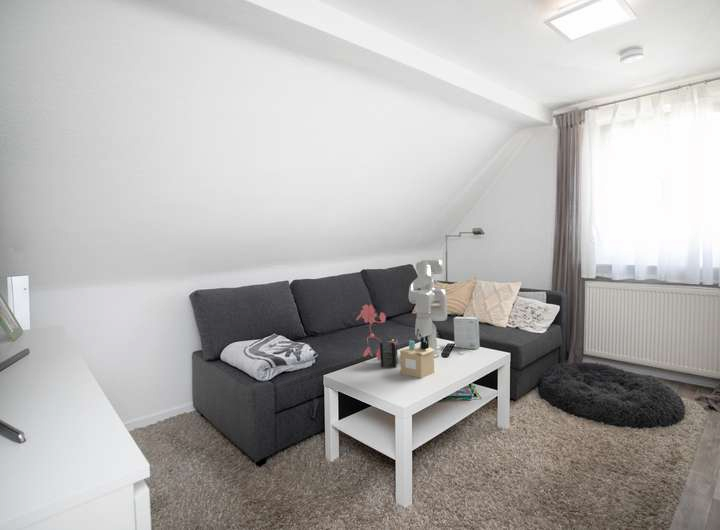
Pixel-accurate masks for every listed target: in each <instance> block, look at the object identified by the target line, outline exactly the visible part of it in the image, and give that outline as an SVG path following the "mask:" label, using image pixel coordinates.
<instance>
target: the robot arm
mask: <svg viewBox="0 0 720 530" xmlns="http://www.w3.org/2000/svg"><path fill="white" fill-rule="evenodd" d="M444 269H445V265H444V262H443V260H442V259H423V260H421V261H417V262H416V263H415V270H416V273H417V277H416V278H415V279H414V280H413V281H412V282H411V283H410V285H409V288H408V289H409V290H408V300H409V302H410V304H414V305H416V306H415V307H416V319H415V326H414V334H415V337H416V338H417V340H418V341H419V342H420V344H421V349H426V348H427V349H428V348H429V347H430V348H432V349H434V350H435V351H434V358H436V357H439V356H440V352H439V350H441V346H437V327H436V324H434V323H433V322H443V321H444V322H445V321H446V320H447V319H448V299H447V297H448V296H447V295H448V294H447V291H446V290H445V289H444V288H439V287H438V288H435V280H434V278H433V275H443V273H444V272H445V271H444ZM431 304H435V305H431ZM436 304H438V305H436ZM425 341H427V345H426V342H425Z"/></svg>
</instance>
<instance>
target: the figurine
mask: <svg viewBox="0 0 720 530" xmlns="http://www.w3.org/2000/svg"><path fill="white" fill-rule="evenodd" d="M361 308H362V309H361V311H360V314H359V315H358V316H357V317H356V319H355V321H358V320H359V319H361V318H362V319H364V323H366V324H367V323H369V326H368V327H369V331H370V335H369V336H368V337H367V339H366V340H367V341H366V342H367V344H369V340H368V339H369V338H371V339H374V338H375V339H377V340H379V343H380V342H381V341H382V340H381V339H379V338H378V337H376V336H375V334H374V333H372V329H371V325H372V324H374V323H377V324H378V323H380V324H382V323H385V322H386V320H387V319H386V318H387V316H386V314H385V313H384V312H383V311H381V312H380V313H379V319H380V321H377V320H375V319H376V318H377V316H378V315H377V313H375V308H374V307H373V305H372V304H369V305H368V304H367V303H365V305H362V307H361ZM369 354H370V356H371V357H373V354H372V353H371V347H367V348H366V349H365V350H364V353H363V358H366V357H367V356H368V355H369ZM375 357H376V358H377V360H378V361H381V357H380V346H379V349H377V351H376V353H375ZM362 363H363V364H365V362H363V361H362Z"/></svg>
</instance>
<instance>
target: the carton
mask: <svg viewBox="0 0 720 530" xmlns="http://www.w3.org/2000/svg"><path fill="white" fill-rule="evenodd" d="M415 342H416V341H415V340H409V341H408V347H406V348H402V349H400V350H399V358H400V359H399V360H400V373H401V374H404V375H407V376H411V377H416V378H419V379H423V378H425V377H427V376H430V375H432V374H434V373H435V357H434V352H431V353H428V354H426V355H423V356H422V355H421V354H419V353H417V352H416V351H414V349H416V348H419V347H420V346H419V347H418V346H415V345H416V344H415Z"/></svg>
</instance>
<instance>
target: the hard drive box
mask: <svg viewBox="0 0 720 530" xmlns="http://www.w3.org/2000/svg"><path fill="white" fill-rule="evenodd" d="M453 338H454V339H453V341H454V344H455V345H456V346H457V347H456V348H458V347H461V348H460V349H470V350H471V349H472V350H478V349H479V348H480V346H481V345H480V324H479V317H475V316H455V317H453Z"/></svg>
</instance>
